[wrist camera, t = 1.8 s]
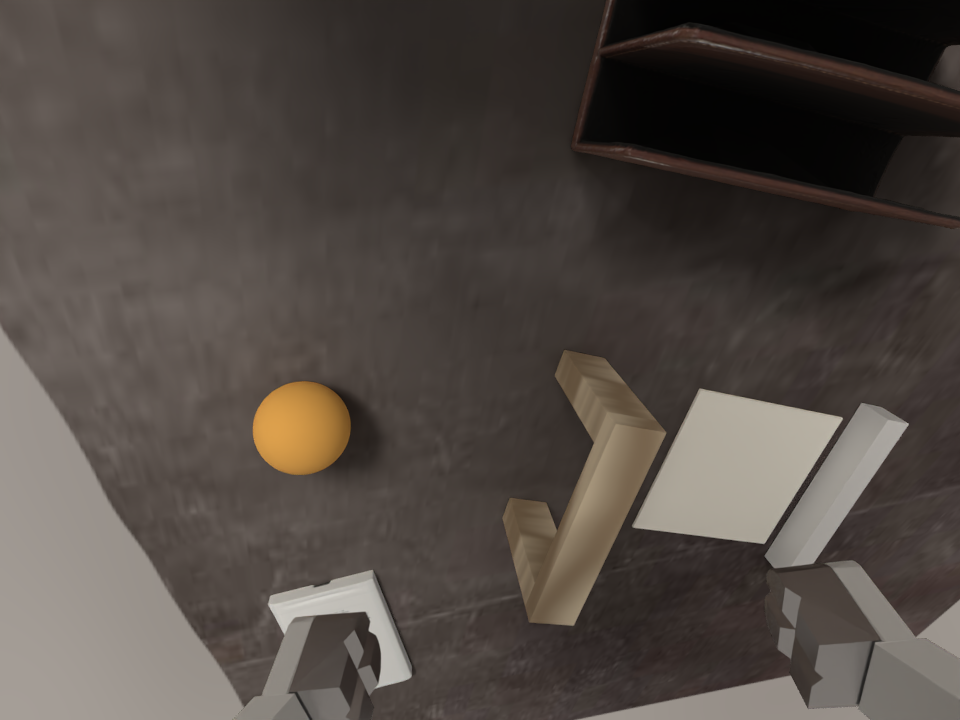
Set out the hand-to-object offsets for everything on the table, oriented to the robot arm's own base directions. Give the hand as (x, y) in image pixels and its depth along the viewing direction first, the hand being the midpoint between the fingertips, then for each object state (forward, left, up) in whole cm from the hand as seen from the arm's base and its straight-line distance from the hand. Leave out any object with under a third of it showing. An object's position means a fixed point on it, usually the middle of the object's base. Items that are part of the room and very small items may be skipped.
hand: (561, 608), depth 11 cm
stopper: (+35, -10, -24) cm, 43 cm away
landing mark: (+26, -10, -24) cm, 37 cm away
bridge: (+10, -10, -24) cm, 28 cm away
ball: (-7, -10, -21) cm, 25 cm away
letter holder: (+14, +14, -24) cm, 32 cm away
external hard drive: (-1, -32, -25) cm, 40 cm away
